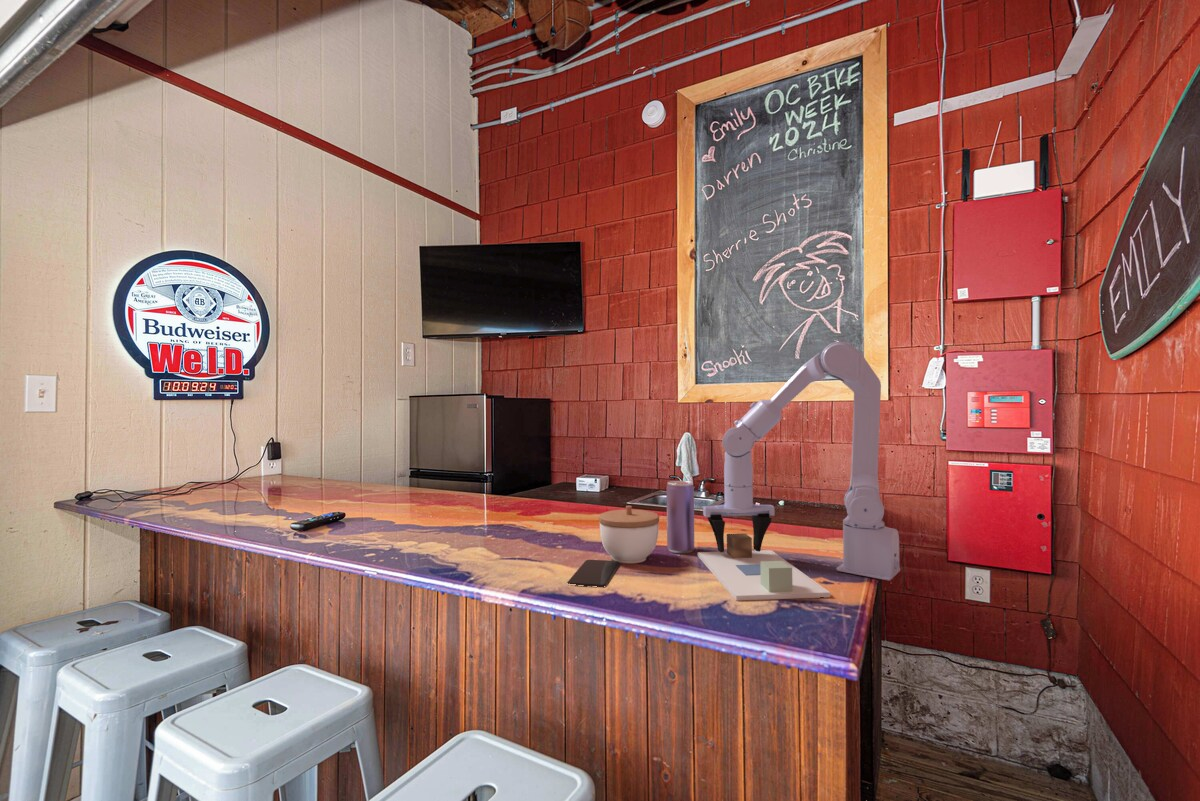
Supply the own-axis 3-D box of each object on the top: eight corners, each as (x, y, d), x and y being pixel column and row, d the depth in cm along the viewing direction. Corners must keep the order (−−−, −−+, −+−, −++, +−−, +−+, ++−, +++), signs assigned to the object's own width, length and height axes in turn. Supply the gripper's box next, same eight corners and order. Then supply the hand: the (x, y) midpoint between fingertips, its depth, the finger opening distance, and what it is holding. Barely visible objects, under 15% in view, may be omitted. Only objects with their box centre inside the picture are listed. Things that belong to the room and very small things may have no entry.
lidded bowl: (657, 568, 108) (657, 512, 108) (594, 566, 110) (594, 511, 110) (661, 551, 120) (660, 501, 120) (604, 549, 122) (603, 500, 122)
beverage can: (694, 554, 117) (693, 484, 117) (666, 553, 118) (665, 484, 118) (694, 547, 123) (694, 480, 123) (668, 546, 124) (667, 480, 124)
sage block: (782, 583, 96) (782, 560, 96) (792, 591, 92) (792, 567, 92) (760, 584, 96) (760, 561, 96) (769, 592, 92) (769, 568, 92)
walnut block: (745, 552, 116) (745, 533, 116) (751, 557, 112) (751, 538, 112) (726, 552, 115) (726, 533, 115) (732, 558, 111) (732, 538, 111)
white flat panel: (771, 553, 117) (771, 549, 117) (830, 597, 91) (830, 591, 91) (697, 555, 116) (697, 551, 116) (736, 600, 90) (736, 595, 90)
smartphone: (605, 590, 97) (621, 564, 112) (605, 585, 97) (621, 560, 112) (565, 587, 99) (585, 562, 113) (565, 583, 99) (585, 558, 113)
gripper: (765, 481, 118) (765, 544, 118) (699, 482, 117) (699, 546, 117) (778, 486, 111) (778, 553, 111) (707, 488, 110) (708, 555, 110)
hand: (738, 550), depth 114 cm, fingers open, 7 cm apart
